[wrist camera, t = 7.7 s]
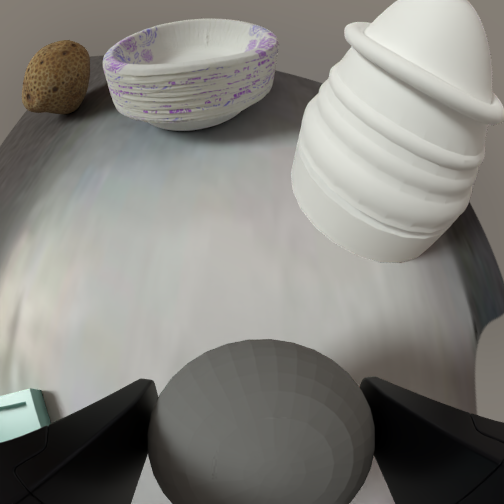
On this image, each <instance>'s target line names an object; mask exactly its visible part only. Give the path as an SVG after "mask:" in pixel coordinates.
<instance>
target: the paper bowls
mask: <svg viewBox="0 0 504 504" xmlns="http://www.w3.org/2000/svg"><path fill="white" fill-rule="evenodd" d="M278 45H279V42H278V39H277V37H276V36H275V35H274V34H273V33H272V32H271V31H269V30H267V29H265V28H263V27H261V26H258V25H255V24H251V23H247V22H242V21H236V20H228V19H193V20H184V21H177V22H171V23H167V24H162V25H158V26H155V27H151V28H148V29H145V30H142V31H140V32H137V33H135V34H132V35H130V36H128V37H127V38H125V39H123V40H121V41H119V42H118V43H117V44H115V45H114V46H112V47H111V48H110V49H109V50H108V51H107V53H106V54H105V56H104V58H103V69H104V73H105V75H106V80H107V82H108V87H109V91H110V94H111V97H112V100H113V103H114V105H115V107H116V109H117V110H118V111H119V112H120V113H121V114H123V115H125V116H128V117H130V118H132V119H134V120H138V121H144V122H148V123H150V124H151V125H153V126H156V127H158V128H162V129H166V130H174V131H191V130H198V129H203V128H208V127H212V126H215V125H218V124H221V123H223V122H225V121H227V120H230V119H231V118H233V117H234V116H236V115H237V114H238V113H239V112H241V111H242V110H244V109H246V108H247V107H249V106H250V105H252V104H254V103H256V102H258V101H260V100H261V99H262V98H263V97H265V96H266V94H268V93H269V92H270V90H271V88H272V85H273V79H274V75H275V67H276V61H277V53H278Z"/></svg>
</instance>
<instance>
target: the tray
mask: <svg viewBox="0 0 504 504" xmlns="http://www.w3.org/2000/svg"><path fill="white" fill-rule="evenodd" d="M49 424H51V422H50V419H49V416H48V413H47V410H46V406H45V403H44V399H43V396H42V392H41V390H36V389H26V390H22V391H18V392H15V393H11V394H7V395H3V396H0V443H1V442H4V441H7V440H11V439H14V438H17V437H20V436H22V435H25V434H27V433H30V432H32V431H35V430H37V429H39V428H42V427H44V426H46V425H47V426H48V427H49Z"/></svg>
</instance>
